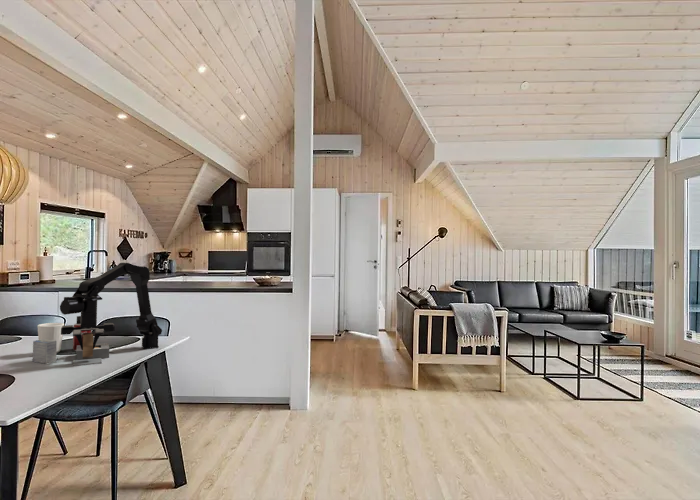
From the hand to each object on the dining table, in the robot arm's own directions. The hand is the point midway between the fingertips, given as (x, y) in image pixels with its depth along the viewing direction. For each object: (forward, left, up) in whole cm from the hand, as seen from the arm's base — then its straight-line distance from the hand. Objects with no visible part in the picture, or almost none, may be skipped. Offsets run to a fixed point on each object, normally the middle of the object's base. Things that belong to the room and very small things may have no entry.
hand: (87, 349), depth 176 cm
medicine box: (+15, -9, -6) cm, 18 cm away
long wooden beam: (0, 0, -4) cm, 4 cm away
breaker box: (-2, -11, -5) cm, 12 cm away
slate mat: (0, 0, -5) cm, 5 cm away
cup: (+14, -25, -6) cm, 29 cm away
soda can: (+2, -27, -6) cm, 28 cm away
